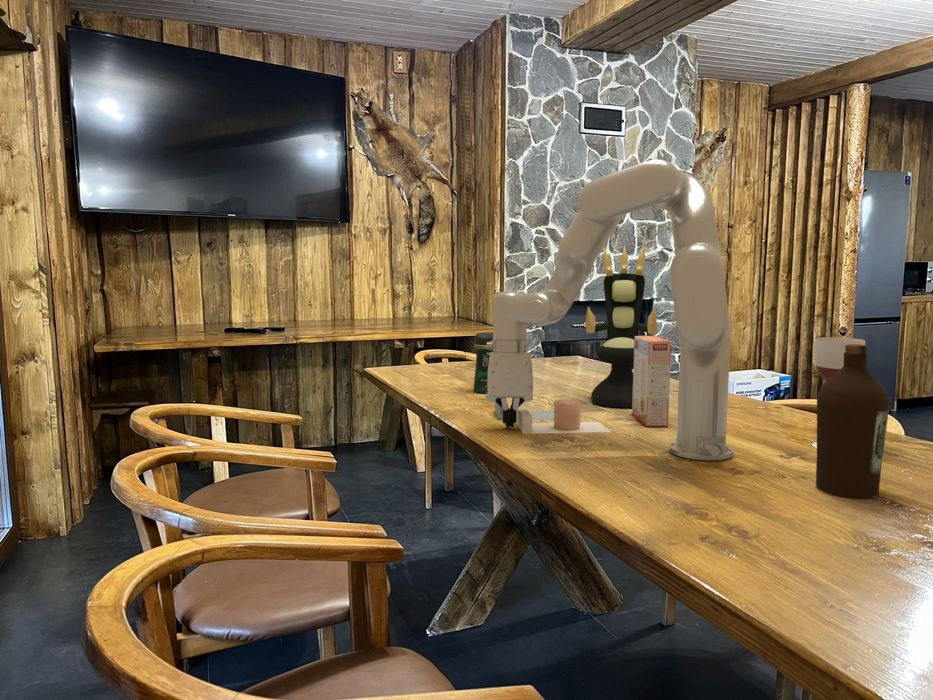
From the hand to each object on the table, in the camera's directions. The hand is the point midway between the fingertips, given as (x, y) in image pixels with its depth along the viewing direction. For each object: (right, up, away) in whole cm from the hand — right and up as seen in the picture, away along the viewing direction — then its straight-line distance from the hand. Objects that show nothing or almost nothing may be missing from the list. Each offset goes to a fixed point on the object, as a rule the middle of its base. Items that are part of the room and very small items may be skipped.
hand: (509, 426), depth 155 cm
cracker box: (+36, -1, +14) cm, 39 cm away
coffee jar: (-3, +4, +55) cm, 55 cm away
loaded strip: (+12, -2, +1) cm, 13 cm away
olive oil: (+55, -7, -39) cm, 68 cm away
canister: (+13, 0, +1) cm, 13 cm away
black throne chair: (+34, +2, +39) cm, 52 cm away
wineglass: (+68, -3, -11) cm, 69 cm away
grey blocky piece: (+8, 0, +15) cm, 17 cm away
